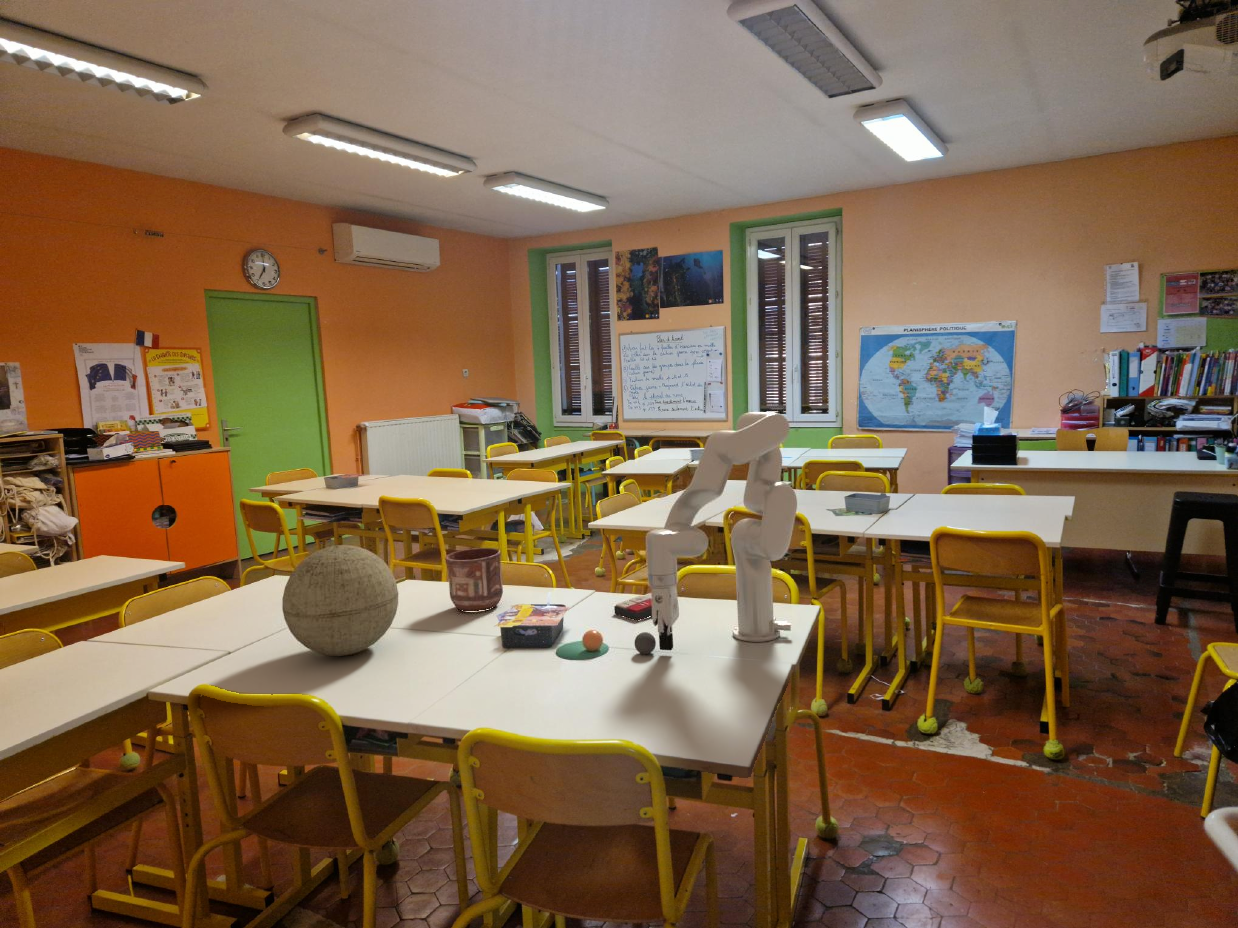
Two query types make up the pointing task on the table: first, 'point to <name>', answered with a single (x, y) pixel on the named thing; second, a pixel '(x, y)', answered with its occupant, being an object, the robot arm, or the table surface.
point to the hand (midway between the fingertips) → (666, 648)
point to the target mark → (579, 651)
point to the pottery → (475, 578)
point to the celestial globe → (340, 600)
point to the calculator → (635, 607)
